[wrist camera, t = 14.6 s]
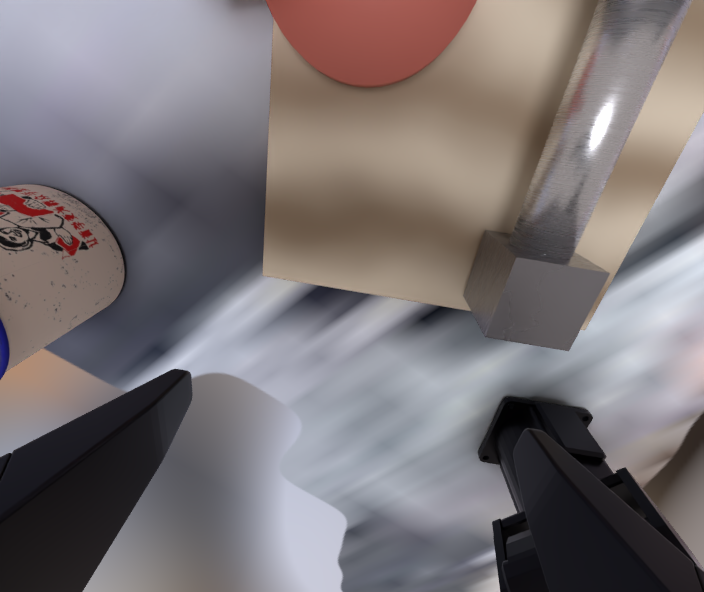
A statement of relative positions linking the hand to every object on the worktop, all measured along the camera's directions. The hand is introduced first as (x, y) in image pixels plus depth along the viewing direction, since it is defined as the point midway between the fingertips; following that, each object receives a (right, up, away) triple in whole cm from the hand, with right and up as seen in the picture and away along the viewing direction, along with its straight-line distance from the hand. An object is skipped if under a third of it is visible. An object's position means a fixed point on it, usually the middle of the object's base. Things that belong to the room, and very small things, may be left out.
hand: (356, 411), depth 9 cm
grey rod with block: (+10, +9, +8) cm, 15 cm away
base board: (+6, +12, +8) cm, 16 cm away
